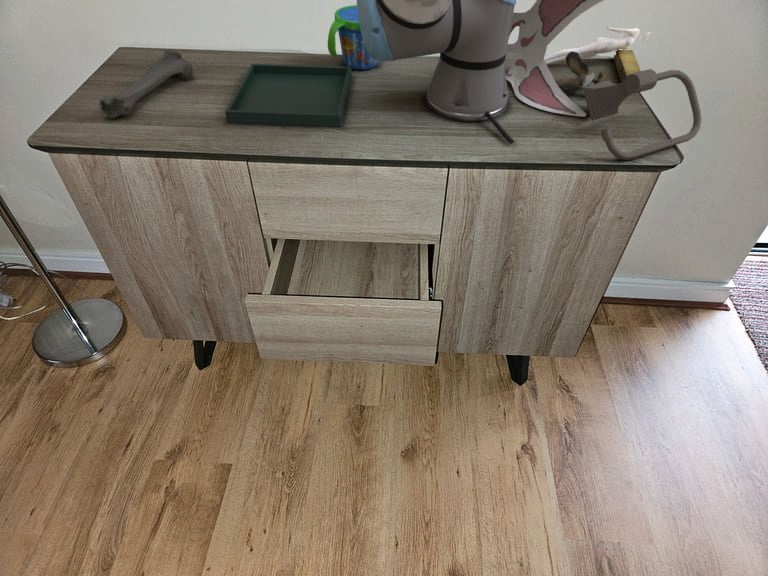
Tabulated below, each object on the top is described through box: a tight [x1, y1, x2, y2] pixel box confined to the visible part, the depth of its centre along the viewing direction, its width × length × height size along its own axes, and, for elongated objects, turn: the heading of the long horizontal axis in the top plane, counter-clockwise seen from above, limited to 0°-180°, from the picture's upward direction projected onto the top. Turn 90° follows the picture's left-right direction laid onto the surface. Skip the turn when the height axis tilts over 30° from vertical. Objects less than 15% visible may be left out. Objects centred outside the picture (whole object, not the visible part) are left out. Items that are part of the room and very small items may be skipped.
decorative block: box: [613, 49, 642, 83], centre depth 109 cm, size 15×2×4 cm
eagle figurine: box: [555, 52, 610, 90], centre depth 102 cm, size 8×7×9 cm
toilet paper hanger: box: [582, 68, 702, 161], centre depth 91 cm, size 22×11×15 cm
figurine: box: [544, 27, 652, 66], centre depth 110 cm, size 10×4×25 cm
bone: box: [98, 48, 194, 119], centre depth 98 cm, size 22×6×6 cm, turn 159°
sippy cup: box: [327, 4, 380, 71], centre depth 108 cm, size 16×10×10 cm
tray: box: [224, 63, 353, 128], centre depth 99 cm, size 20×20×2 cm
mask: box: [505, 0, 605, 118], centre depth 103 cm, size 23×12×30 cm
